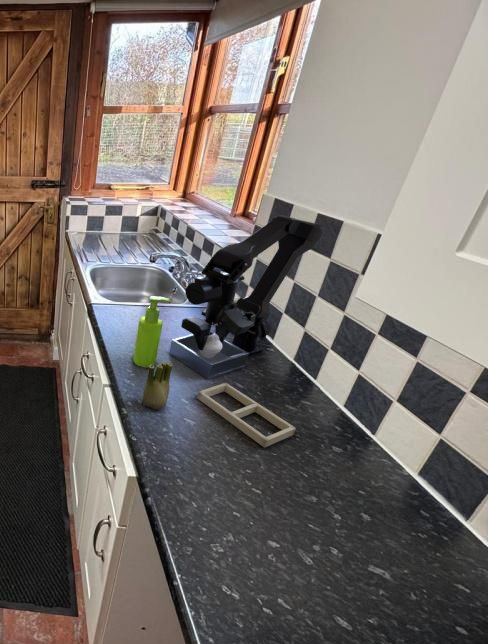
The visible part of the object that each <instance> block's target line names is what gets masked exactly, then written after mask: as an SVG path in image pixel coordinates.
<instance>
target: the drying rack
mask: <svg viewBox="0 0 488 644" xmlns="http://www.w3.org/2000/svg"><path fill="white" fill-rule="evenodd" d="M224 392H225V393H226V394H228V395H229V396H230V397H233V398H234V399H235V400H237V401H238V402H240V403H241V404H243V405H244V406H243V407H241V408H238V409H236V410H234V411H230V410H229V409H227V408H226V407H224V406H223V405H222V404H220V403H219V402H217V401H216V400H214V399H213V398H212V397H214V396H216V395H218V394H221V393H224ZM196 399H197V400H199V401H200V402H202V403H203V404H205V405H206V406H207V407H208V408H210V409H211V410H212V411H214V412H215V413H216V414H218V415H219V416H221V417H222V418H223V419H225V420H226V421H227V422H228V423H230V424H231V425H233V426H234V427H235V428H236V429H238V430H240V431H241V432H242V433H244V434H245V435H247V436H248V437H249V438H250V439H252V440H253V441H255V442H256V443H257V444H259V445H260V446H261V447H263V448H267V447H269V446H272V445H274V444H276V443H278V442H281V441H283V440H285V439H288V438H291V437H292V436H294V435H295V432H296V429H297V427H295V426H294V425H292V424H291V423H290V422H287V421H286V420H284V419H283V418H281V417H280V416H278V415H276V413H274V412H272V411H271V410H269V409H267V408H266V407H265V406H264V405H263V406H262V405H261V404H260V403H258V402H257V401H255V400H254V399H252V398H250V397H249V396H248V395H246V394H244V393H243V392H241V391H239V390H238V389H237V388H235V387H233V386H232V385H231V384H229V383H227V382H223V383H221V384H220V383H219V384H217V385H215V386H211V387H209V388H208V387H207V388H206V389H202V390H199V391H198V393H197V397H196ZM254 413H256V414H257V415H259V416H260V417H262V418H264V419H265V420H266V421H268V422H269V423H271V424H272V425H274V426H275V427H277V428H278V429H280V431H277V432H275V433H273V434H270V435H268V436H265V435H264V434H263V433H261V432H260V431H258V430H257V429H256V428H254V427H253V426H251V425H249V424H248V423H247V422H245V421H244V420H243V419H241V418H244V417H246V416H249V415H251V414H254Z"/></svg>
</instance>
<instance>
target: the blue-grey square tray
mask: <svg viewBox="0 0 488 644" xmlns="http://www.w3.org/2000/svg"><path fill="white" fill-rule="evenodd" d="M230 342H231V341H228V340H227V339H224V340H223V342H222V345H223V346H222V349H221V350H220V352H219V353H218V354H216V355H215V356H214V357H212V358H208V357H204V356H203V355H202V354H201V352H200V350H199V348H198V345H197V342H196V339H195V337H194V334H192V333H191V334H188V335H183V336H181V337H176V338H172V339H171V342H170V345H169V346H170V347H169V352H168V353H169V354H170V355H171V356H172V357H174V358H176V359H177V360H178V361H180V362H182V363H183V364H185V365H186V366H187V367H189V368H191V369H192V370H193V371H195V372H196V373H198V374H200V375H201V376H202V377H204V378H206V379H207V380H210V379H213V378H216V377H219V376H222V375H224V374H225V375H226V374H228V373H230V372H233V371H237V370H240V369H243V368H245V367H246V364H247V361H248V358H249V353H248V352H246V351H245V350H243V349H241V348H239V347H237V346H235V345H234V344H232V343H230Z"/></svg>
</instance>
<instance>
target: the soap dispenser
mask: <svg viewBox="0 0 488 644" xmlns="http://www.w3.org/2000/svg"><path fill="white" fill-rule="evenodd" d="M148 301H149V302H150V303H149V306H147V307H146V308H145V314H144V315H143V316H141V317H139V318H138V319H139V320H138V327H137V333H136V338H135V339H136V340H135V345H134V351H133V358H132V361H133V363H134V364H135V365H137V366H138V367H141V368H146V369H147V368H148V369H149V366H150V365H153V366H154V367H155V365H156V363H157V356H158V351H159V347H160V346H159V345H160V340H161V334H162V328H163V325H164V323H163V320H161V319H160V318H159V317H160V312H161V310H160V308H159V307H158V303H166V304H172V300H171V299H170V298H169V297H165V296H154V295H153V296H148Z"/></svg>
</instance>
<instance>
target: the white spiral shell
mask: <svg viewBox="0 0 488 644" xmlns="http://www.w3.org/2000/svg"><path fill="white" fill-rule="evenodd" d="M213 333H214V334H213V335H210V336H208V338H207V341H206V344H205V347H204V349H203V350H202V351H201V350H200V352H201V354H202V355H203V356H204V357H208V358H212V357H214V356H215V355H216V354H218V353H219V352H220V350H221V349H222V346H223V345H222V343H221V342H220V340H219V336H218V335H217V334H215V332H213Z"/></svg>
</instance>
